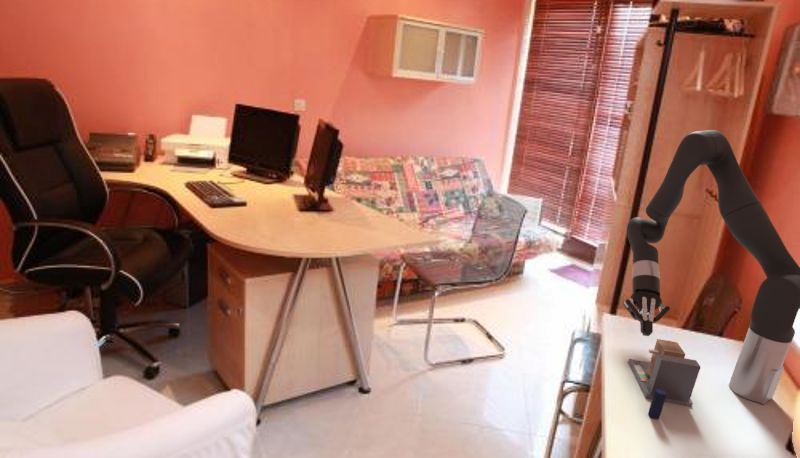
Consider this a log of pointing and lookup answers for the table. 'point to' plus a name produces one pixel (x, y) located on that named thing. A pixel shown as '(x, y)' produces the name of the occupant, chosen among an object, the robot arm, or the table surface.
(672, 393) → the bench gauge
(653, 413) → the eraser
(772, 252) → the robot arm
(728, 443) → the table surface
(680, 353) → the block
